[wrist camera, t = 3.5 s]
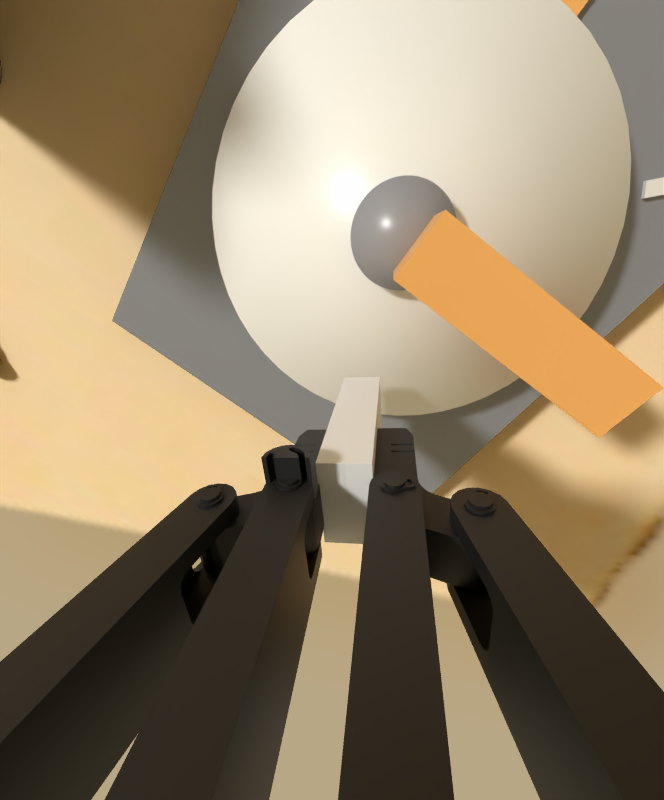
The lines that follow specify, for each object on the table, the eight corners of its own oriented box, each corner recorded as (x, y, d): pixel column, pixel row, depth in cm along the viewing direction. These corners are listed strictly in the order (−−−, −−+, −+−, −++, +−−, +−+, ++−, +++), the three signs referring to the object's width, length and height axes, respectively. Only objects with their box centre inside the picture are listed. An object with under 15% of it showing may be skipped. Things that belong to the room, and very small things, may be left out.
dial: (169, 280, 18) (91, 296, 13) (364, -151, 12) (344, -415, 7) (444, 474, 20) (460, 546, 16) (741, 202, 14) (923, 184, 9)
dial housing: (393, -317, 11) (394, -403, 10) (818, 114, 14) (871, 99, 12) (130, 315, 21) (109, 321, 20) (403, 502, 24) (404, 520, 22)
